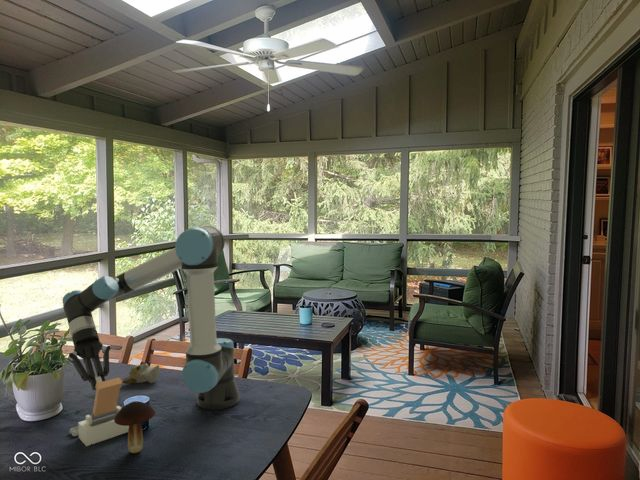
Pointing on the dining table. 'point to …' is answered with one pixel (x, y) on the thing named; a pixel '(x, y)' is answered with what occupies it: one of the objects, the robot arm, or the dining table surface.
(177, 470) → the dining table surface
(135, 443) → the decorative mushroom
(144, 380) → the ceramic sculpture
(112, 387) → the lever
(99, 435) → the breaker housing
